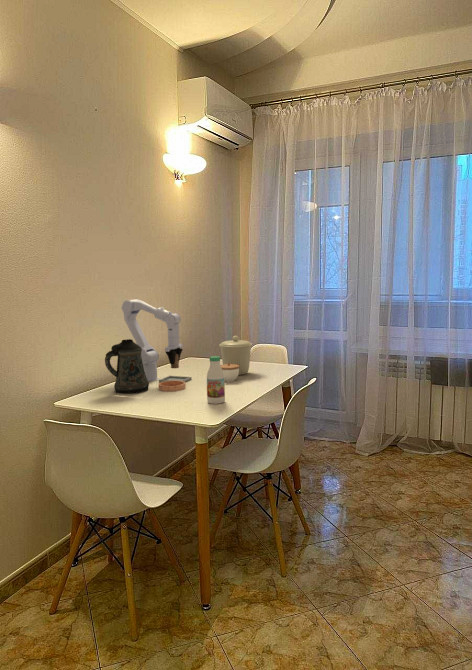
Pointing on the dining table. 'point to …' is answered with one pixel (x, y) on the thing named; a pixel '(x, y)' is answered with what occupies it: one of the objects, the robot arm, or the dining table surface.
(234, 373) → the lidded jar
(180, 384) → the terracotta bowl
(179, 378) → the slate tray
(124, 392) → the beer stein
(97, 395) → the dining table surface
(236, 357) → the canister
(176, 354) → the walnut peg
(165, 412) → the dining table surface
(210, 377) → the milk bottle
